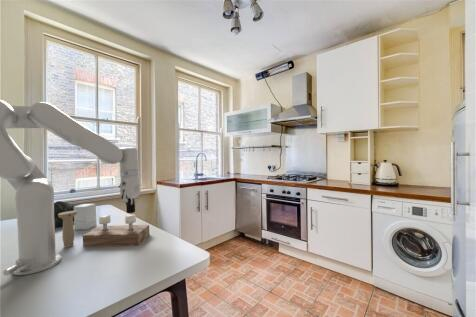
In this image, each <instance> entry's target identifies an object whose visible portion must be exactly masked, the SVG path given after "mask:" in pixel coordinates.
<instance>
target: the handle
mask: <svg viewBox="0 0 476 317" xmlns="http://www.w3.org/2000/svg"><path fill="white" fill-rule="evenodd" d="M76 214H77V211H67V212H63V213H59V214H58V217H59V218H62V219H63V224H62V241H63V247H64V248H70V247H73V245H74V240H75V226H74V222H73V216H75V215H76Z"/></svg>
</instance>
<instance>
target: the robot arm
mask: <svg viewBox="0 0 476 317" xmlns="http://www.w3.org/2000/svg"><path fill="white" fill-rule="evenodd" d="M7 129H45V130H46V131H48V132H50V133H51V134H54V136H57V137H58V138H60V139H62V140H64V141H65V142H67V143H69V144H70V145H73V146H75V147H78V148H81V149H83V150H85V151H87V152H89V153H91V154H93V155H95V156H96V157H97V158H98V159H99V161H100V162H102V163H104V164H107V165H115V164H118V163H119V176H120V182H119V184H120V185H119V186H120V187H119V194H120V195H119V196H120V198H121V200H122V203H124V204H125V205H126V214H135V212H136V199H137V197H139V196H140V195H141V183H140V179H139V178H140V177H139V158H138V149H137V147H133V146H131V147H130V146H128V147H127V146H124V147H123V146H122V147H119V146H117V145H115V144H114V143H112V142H111V141H110V140H108V139H107V138H106V137H104V136H102V135H100V134H98V133H96V132H95V131H93V130H91V129H90V128H88V127H87V126H85V125H83V124H82V123H80V122H78V121H77V120H75V119H74V118H72V117H71V116H69V115H68V114H66V113H65V112H63V111H62V110H61V109H59V108H58V107H56V106H54V105H52V104H51V103H48V102H45V101H38V102H34V103H33V104H31V105H30V106H28V105H27V106H26V105H25V106H24V105H10V104H9V103H7V102H6V101H4V100H1V99H0V178H2V179H4V180H6V181H7V182H8V184H10V186H12V187H13V188H14V189H15V199H14V200H15V207H16V208H15V209H16V220H17V223H16V225H17V238H18V240H17V241H18V242H17V243H18V244H17V245H18V259H16V260H15V264H13V266H12V265H11V266H10V267H8V268H6V269H4V270H3V272H2V273H3V275H4V276H9V275H12V274H13V275H15V276H27V275H32V274H37V273H40V272H42V271H45V270H48V269H50V268H52V267H54V266H56V265H58V264H59V263H60V262H61V261H62V255H60V254H57V253H56V251H57V250H56V230H55V229H56V226H55V221H54V203H55V190H54V186H53V184H52V182H51V181H50V180H49V179H48V177H47V176H46V175H45V173H43V171H42V170H41V168H40V167H39V166H38V164H37V163H36V162H35V161H34V160H33V159H32V158H31V157H30V156H28V155H26V154H25V153H24V152H23V151H22V149H21V148H20V147H19V146H18V144H17V143H16V142H15V140H14V139H13V138H12V136H11V135H10V134H9V133H8V131H7Z"/></svg>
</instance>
